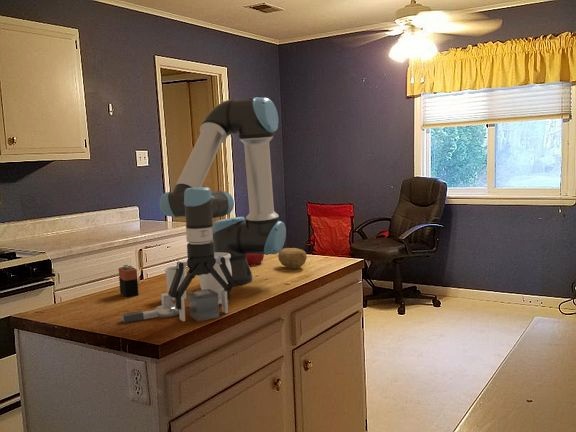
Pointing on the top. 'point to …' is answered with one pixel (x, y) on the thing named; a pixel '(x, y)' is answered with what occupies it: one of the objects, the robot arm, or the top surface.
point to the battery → (128, 281)
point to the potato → (292, 257)
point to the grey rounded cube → (203, 304)
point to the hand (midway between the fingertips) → (204, 316)
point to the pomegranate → (254, 258)
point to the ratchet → (154, 311)
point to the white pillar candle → (170, 275)
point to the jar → (210, 282)
